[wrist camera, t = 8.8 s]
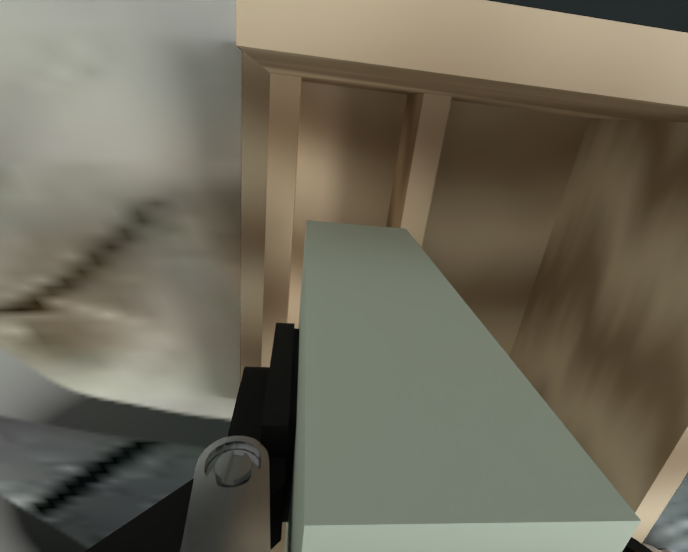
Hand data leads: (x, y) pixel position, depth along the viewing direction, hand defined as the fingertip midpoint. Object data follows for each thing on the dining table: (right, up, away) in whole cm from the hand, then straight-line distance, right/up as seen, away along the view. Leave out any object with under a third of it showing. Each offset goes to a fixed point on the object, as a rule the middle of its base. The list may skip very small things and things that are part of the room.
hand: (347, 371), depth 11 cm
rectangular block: (0, +1, +2) cm, 2 cm away
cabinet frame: (+3, +3, +8) cm, 9 cm away
